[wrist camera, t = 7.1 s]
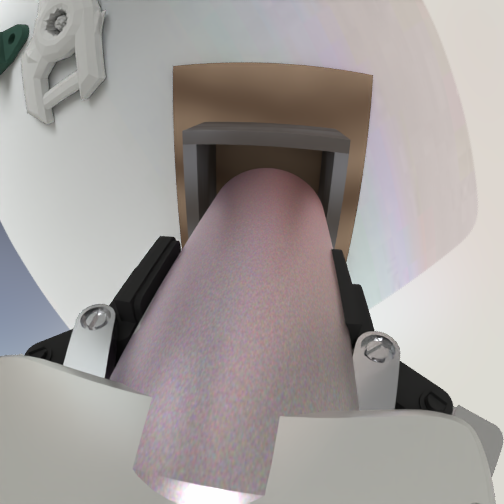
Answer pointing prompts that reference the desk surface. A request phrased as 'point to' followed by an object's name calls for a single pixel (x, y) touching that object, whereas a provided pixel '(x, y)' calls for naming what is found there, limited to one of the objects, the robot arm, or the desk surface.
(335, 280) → the beverage can
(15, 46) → the mount
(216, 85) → the can dock
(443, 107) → the desk surface
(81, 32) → the grey mechanical plate
